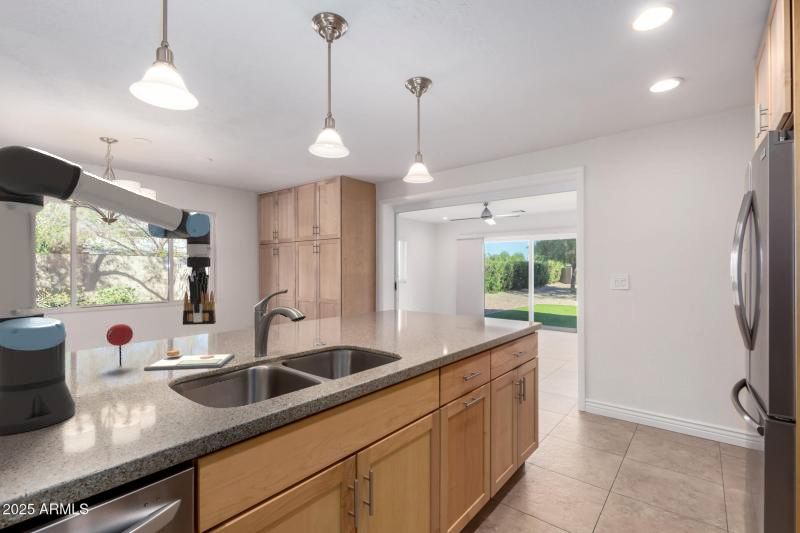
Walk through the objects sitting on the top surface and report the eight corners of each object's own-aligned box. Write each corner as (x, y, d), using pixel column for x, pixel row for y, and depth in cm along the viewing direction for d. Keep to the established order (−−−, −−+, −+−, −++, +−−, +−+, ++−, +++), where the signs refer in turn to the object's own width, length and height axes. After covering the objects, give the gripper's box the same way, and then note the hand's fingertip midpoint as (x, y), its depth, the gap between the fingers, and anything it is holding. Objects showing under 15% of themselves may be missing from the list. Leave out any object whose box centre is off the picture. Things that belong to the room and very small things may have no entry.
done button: (176, 355, 140) (176, 352, 140) (165, 356, 139) (165, 352, 139) (181, 353, 144) (181, 350, 144) (170, 353, 143) (170, 350, 143)
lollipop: (110, 364, 137) (109, 323, 137) (135, 361, 140) (135, 322, 140) (103, 369, 130) (103, 326, 130) (130, 366, 133) (130, 325, 133)
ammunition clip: (215, 323, 136) (215, 290, 137) (214, 324, 135) (213, 290, 135) (184, 324, 135) (184, 291, 135) (182, 324, 133) (182, 291, 133)
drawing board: (220, 367, 132) (220, 363, 132) (144, 370, 129) (144, 366, 129) (234, 356, 148) (234, 353, 148) (166, 358, 144) (166, 355, 144)
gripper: (201, 255, 128) (202, 324, 128) (216, 256, 143) (217, 318, 143) (178, 256, 127) (179, 324, 127) (196, 257, 142) (196, 318, 142)
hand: (199, 321), depth 135 cm, fingers closed on ammunition clip, 2 cm apart
